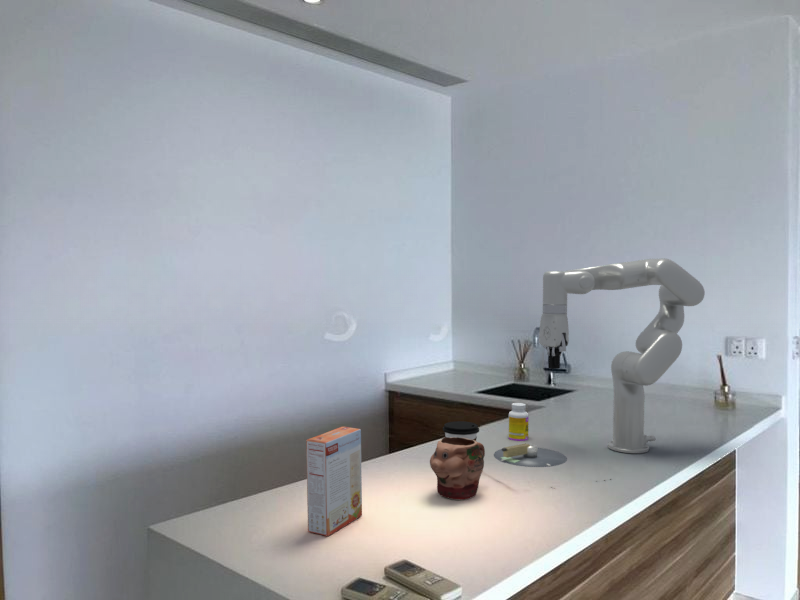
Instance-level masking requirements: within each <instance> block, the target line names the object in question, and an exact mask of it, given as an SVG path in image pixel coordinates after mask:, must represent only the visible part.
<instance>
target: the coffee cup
mask: <svg viewBox="0 0 800 600" xmlns="http://www.w3.org/2000/svg"><path fill="white" fill-rule="evenodd" d="M442 432H443V433H444V435H445V436H444V438H445V437H449V438H450V437H458V438H467V439H471V440H475V441H477V437H478V436H477V434H478V433H479V432H480V428H479V425H478V424H476V423H475V422H471V421H465V420H464V421H463V420H462V421H461V420H457V421H448V422H446V423H444V426H442Z"/></svg>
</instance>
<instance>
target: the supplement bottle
mask: <svg viewBox="0 0 800 600" xmlns="http://www.w3.org/2000/svg"><path fill="white" fill-rule="evenodd" d="M507 433H508V434H507V435H508V437H507V438H508V439H509V440H511V441H516V442H522V441H523V442H525V441H528V440H529V413H528V412H527V411H526V403H523V402H514V403H511V411H509V413H508V432H507Z"/></svg>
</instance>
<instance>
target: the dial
mask: <svg viewBox="0 0 800 600" xmlns="http://www.w3.org/2000/svg"><path fill="white" fill-rule="evenodd" d="M493 457H494V458H495V459H496V460H498V461H499V462H502V463H504V464H508V465H512V466H519V467H526V468H546V467H547V468H548V467H556V466H559V465H563V464H564V463H566V462H567V461H568V457H567V456H566V455H565V454H564V453H562V452H560V451H556V450H555V449H549V448H544V447H538V448H537V457H525V456H523V455H518V456H513V457H509V458H507V457H504V456H503V451H502V448H500V449H497V450H496V451H495V452H494V453H493Z"/></svg>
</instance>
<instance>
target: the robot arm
mask: <svg viewBox="0 0 800 600" xmlns="http://www.w3.org/2000/svg"><path fill="white" fill-rule="evenodd" d="M647 286H659V288H658V299H659V310H658V312H657V314H656V315H655V317H654V318H653V319H652V320H651V321H650V322H649V324H648V325H647V326H646V327H645V328H644V329H643V331H642V332H640V334H639V335H638V336H637V338H636V340H635V348H636V350H637V351H638V352H635V351H621V352H619V353H617V354H616V355H615V356H614V357H613V359H612V361H611V365H610V368H611V369H610V370H611V372H610V373H611V376H612V383H613V384H612V385H613V400H612V402H613V405H612V407H613V409H612V410H613V411H612V412H613V413H612V414H613V415H612V440H611V441H609V442H608V443H607V447H608V448H609V450H612V451H613V452H619V453H624V454H644V453H647V452H649V449H650V446H649V445H647V443H649V442H651V443H652V442H656V436H655V435H654V434H652V435H647V434H645V402H646V401H645V398H646V395H645V388H644V386H645V387H647V386H651V385H654V383H656V382H657V381H659V379H661V378H662V376H664V374H665V373H666V372H667V371H668V370H669V368H671V366H672V365H673V364H674V363H675V362H676V361H677V359H678V358H679V356H680V355H681V353H682V350H683V340H682V339H681V336H680V335H679V334H678V333H679V332H680V330H682V328H683V325H684V324H685V323H684V322H685V308H684V307H694V306H698V305H699V304H701V303H702V301H704V298H705V288H704V286H703V284H702V283H701V282H700V280H698V279H697V278H696V277H694V276H693V275H692V274H691V273H690V272H688V271H687V270H686V269H684V268H683V267H682V266H681V265H679V264H678V263H677V262H675V261H673V260H671V259H669V258H647V259H641V260H640V259H639V260H632V261H625V262H624V261H623V262H617V263H610V264H605V265H598V266H590V267H585V268H576V269H568V270H565V271H564V270H547V271H545V272H544V273H543V274H542V314H541V316H540V320H539V321H540V323H539V331H538V333H539V336H538V343H539V344H540V345H541V346H543V349H545V350H546V352H547V354H546V355H547V356H548V359H547V360H548V365H547V366H548V369H551V370H556V369H557V370H558V369H560V367H561V356H562V353H563V352H566V350H567V348H566V347H567V346H569V341H570V336H569V335H570V334H569V332H570V331H569V321H568V294H570V295H571V294H572V295H586V294H588V293H590V292H591V291H596V290H597V291H599V290H603V291H616V290H617V291H619V290H626V289H632V288H633V289H634V288H640V287H647Z"/></svg>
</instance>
